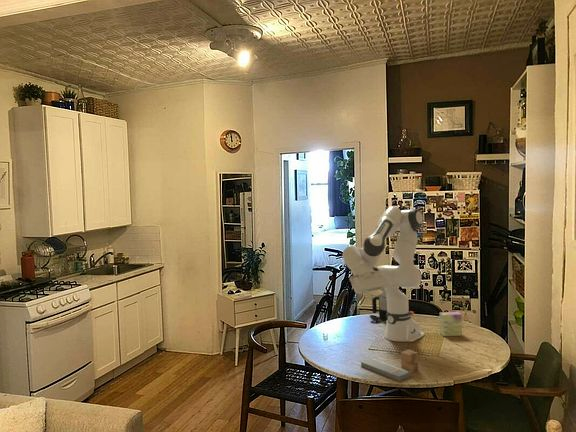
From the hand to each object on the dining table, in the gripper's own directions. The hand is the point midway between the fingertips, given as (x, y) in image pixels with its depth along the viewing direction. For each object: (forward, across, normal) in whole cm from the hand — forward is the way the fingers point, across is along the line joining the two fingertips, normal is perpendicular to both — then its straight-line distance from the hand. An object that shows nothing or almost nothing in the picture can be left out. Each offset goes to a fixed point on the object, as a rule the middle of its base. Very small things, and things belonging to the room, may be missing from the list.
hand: (378, 297), depth 219 cm
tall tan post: (+34, -1, +8) cm, 35 cm away
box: (+21, +55, +21) cm, 63 cm away
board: (+30, -10, +12) cm, 33 cm away
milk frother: (-10, +49, +52) cm, 73 cm away
